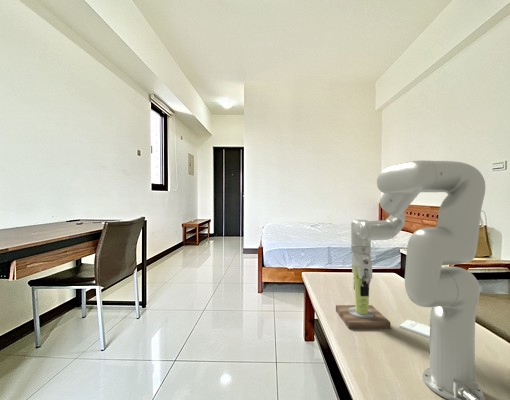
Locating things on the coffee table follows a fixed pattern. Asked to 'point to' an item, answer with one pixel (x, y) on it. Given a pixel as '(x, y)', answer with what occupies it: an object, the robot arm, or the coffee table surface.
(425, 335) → the external hard drive
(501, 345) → the coffee table surface
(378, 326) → the walnut base
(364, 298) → the tube
